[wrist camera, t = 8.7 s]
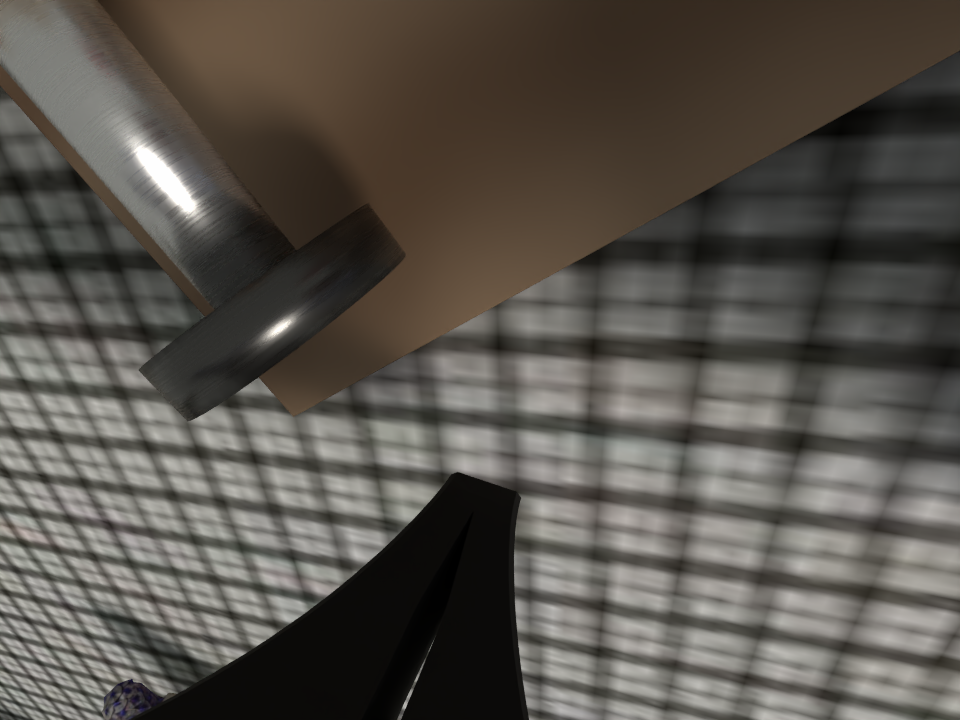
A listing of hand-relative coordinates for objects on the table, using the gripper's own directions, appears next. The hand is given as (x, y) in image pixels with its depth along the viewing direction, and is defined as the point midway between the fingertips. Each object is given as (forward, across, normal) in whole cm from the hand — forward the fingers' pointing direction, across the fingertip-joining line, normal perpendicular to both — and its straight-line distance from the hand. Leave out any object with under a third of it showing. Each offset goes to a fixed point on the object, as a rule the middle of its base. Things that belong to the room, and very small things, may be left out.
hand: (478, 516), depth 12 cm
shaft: (+2, +6, -6) cm, 9 cm away
